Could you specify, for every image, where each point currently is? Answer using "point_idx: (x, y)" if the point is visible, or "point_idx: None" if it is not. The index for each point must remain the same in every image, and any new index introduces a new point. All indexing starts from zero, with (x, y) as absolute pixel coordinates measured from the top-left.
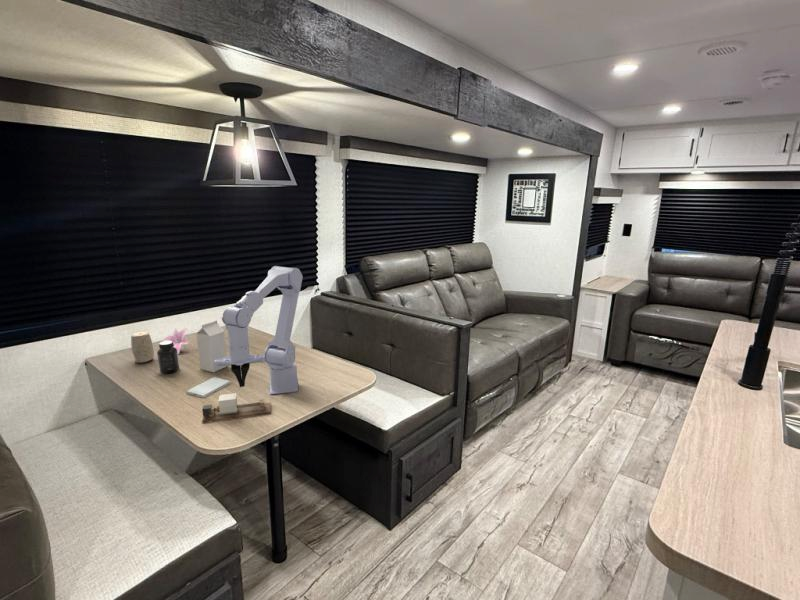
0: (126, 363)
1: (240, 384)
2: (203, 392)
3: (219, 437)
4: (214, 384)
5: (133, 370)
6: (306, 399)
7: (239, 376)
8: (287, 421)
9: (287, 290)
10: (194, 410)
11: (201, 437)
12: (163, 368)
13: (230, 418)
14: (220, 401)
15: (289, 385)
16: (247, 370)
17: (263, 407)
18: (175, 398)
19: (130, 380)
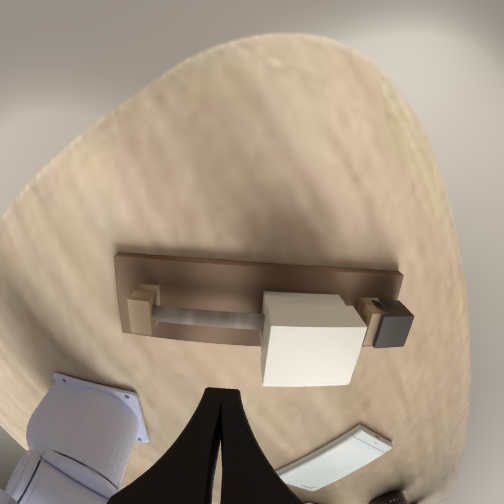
0: (427, 499)
1: (232, 401)
2: (357, 442)
3: (344, 120)
4: (319, 470)
5: (430, 489)
6: (20, 310)
7: (232, 458)
8: (61, 164)
9: None
10: (401, 363)
11: (407, 154)
12: (402, 499)
13: (294, 266)
14: (355, 325)
15: (68, 398)
16: (127, 492)
17: (140, 288)
18: (419, 423)
19: (448, 467)
